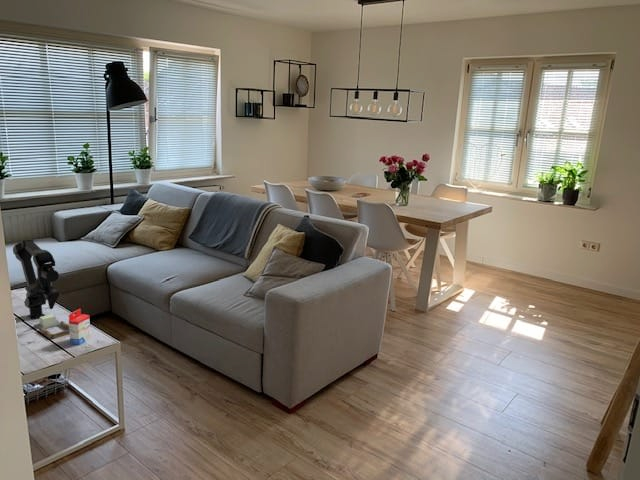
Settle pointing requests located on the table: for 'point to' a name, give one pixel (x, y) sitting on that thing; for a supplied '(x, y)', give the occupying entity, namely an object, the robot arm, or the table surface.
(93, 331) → the table surface
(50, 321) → the sage block
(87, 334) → the ink box
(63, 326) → the frame
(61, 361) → the table surface
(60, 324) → the mat
